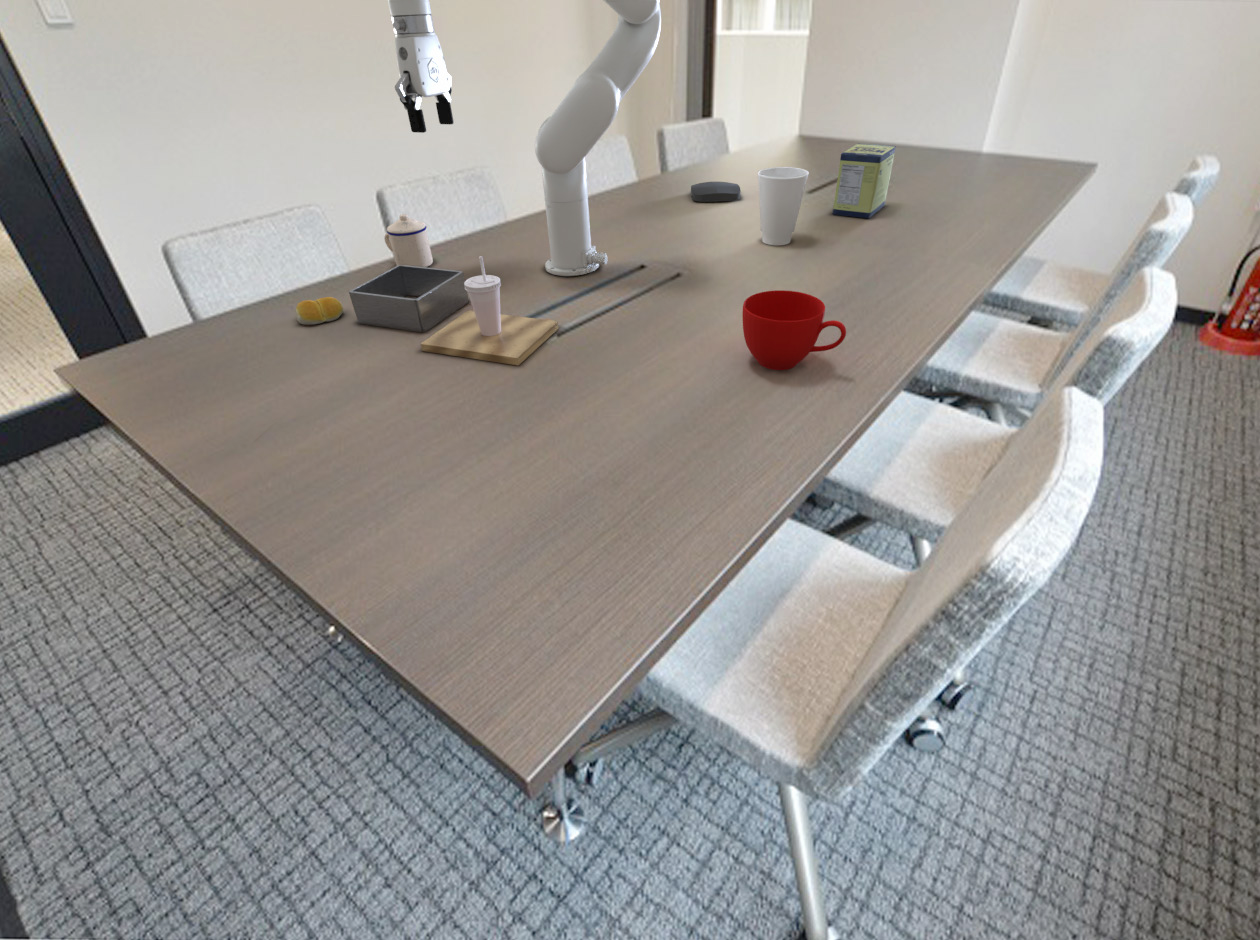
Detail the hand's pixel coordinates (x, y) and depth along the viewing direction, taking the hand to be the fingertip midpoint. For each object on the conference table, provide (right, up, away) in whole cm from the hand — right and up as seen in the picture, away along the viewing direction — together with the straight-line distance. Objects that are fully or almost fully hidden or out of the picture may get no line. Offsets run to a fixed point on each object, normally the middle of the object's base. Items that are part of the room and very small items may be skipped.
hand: (433, 128), depth 132 cm
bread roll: (-23, -39, -1) cm, 46 cm away
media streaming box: (+67, +14, +65) cm, 95 cm away
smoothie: (+15, -45, -13) cm, 49 cm away
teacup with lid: (-13, -20, +25) cm, 35 cm away
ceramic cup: (+67, -53, -24) cm, 89 cm away
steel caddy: (-4, -38, 0) cm, 38 cm away
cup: (+77, -13, +29) cm, 84 cm away
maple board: (+15, -46, -12) cm, 50 cm away
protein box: (+105, +2, +48) cm, 115 cm away
